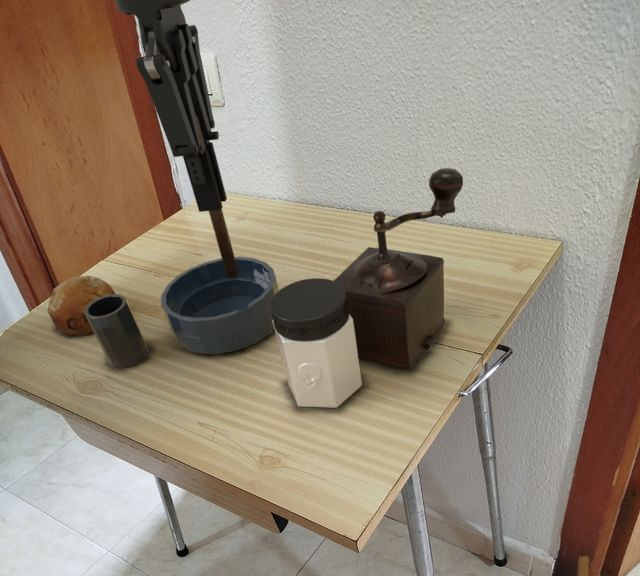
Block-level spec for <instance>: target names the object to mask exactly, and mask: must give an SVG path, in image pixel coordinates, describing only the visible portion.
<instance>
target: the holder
mask: <svg viewBox="0 0 640 576" xmlns="http://www.w3.org/2000/svg"><path fill="white" fill-rule="evenodd" d="M84 312H85V317H86V319H87V321H88V322H89V324H90V326H91V328H92V330H93V332H92V333H93V334H94V336H95V338H96V340H97V342H98V344H99V346H100V348H101V350H102V352H103V354H104V355H105V358H106V360H107V361H108V363H109V364H110V366H111V367H113V368H116V369H127V368H131V367H133V366H135V365H138V364H140V363H141V362H142V361H143V360H144V359H146V357H147V356H148V354H149V348H148V345H147V342H146V339H145V338H144V335H143V333H142V331H141V329H140V326H139V324H138V322H137V320H136V317H135V315H134V313H133V311H132V308H131V306H130V304H129V302H128V299H127V298H126V297H125V296H124V295H122V294H117V293H115V294H112V295H107V296H103V297H100V298H98V299H96V300H94V301H93V302H91V303H90V304H88V306H87V307H86V309H85V310H84Z"/></svg>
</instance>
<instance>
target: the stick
mask: <svg viewBox="0 0 640 576" xmlns="http://www.w3.org/2000/svg"><path fill="white" fill-rule="evenodd" d="M195 116H196V115H195ZM196 120H197V124H198V128H199V132H200V136H201V141H202V145H203V148H204V150H206V147H205V143H204V139H203V136H202V132H201V128H200V124H199V121H198V117H197V116H196ZM208 215H209V218H210V222H211V224H212V228H213V232H214V235H215V239H216V243H217V246H218V250H219V253H220V257H221V258H222V261H223V264H224V268H225V271H226V275H227V276H228V277H229V278H230V279H235V278H237V276H238V274H239V272H238V268H237V264H236V260H235V257H236V256H235V253H234V249H233V246H232V241H231V238H230V235H229V230H228V226H227V223H226V219H225V215H224V212H223V208H222V209H221V210H213V211H208Z"/></svg>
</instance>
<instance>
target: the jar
mask: <svg viewBox="0 0 640 576" xmlns="http://www.w3.org/2000/svg"><path fill="white" fill-rule="evenodd" d="M270 310H271V314H272V318H273V325H274V333H275V337H276V341H277V346H278V349H279V353H280V357H281V361H282V365H283V369H284V373H285V378H286V380H287V384H288V386H289V390H290V391H291V393H292V395H293V398H294V400H295V402H296V404H297V406H298V407H301V408H303V407H304V408H328V409H329V408H331V409H333V408H334V409H337V408H338V407H340V406H341V405H342V404H343V403H344V402H345V401H346V400H348V399H349V398H350V397H351V396H352V395H353V394H354V393H356V392H357V390H359V389H360V388H361V387H362V386H363V382H362V375H361V367H360V359H358V352H357V344H356V337H355V330H354V322H353V319H352V317H351V316H350V314H349V308H348V301H347V294H346V291H345V289H344V287H343V286H342V285H340V284H339V283H337V282H335V281H334V279H333V280H332V279H329V278H320V277H319V278H317V277H316V278H306V279H301V280H297V281H294V282H292V283H289V284H287V285H285V286H284V287H282V288H280V289H279V291H278V292H277V293H276V294H275V295H274V297H273V298H272V300H271V303H270Z"/></svg>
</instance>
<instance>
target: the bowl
mask: <svg viewBox="0 0 640 576" xmlns="http://www.w3.org/2000/svg"><path fill="white" fill-rule="evenodd" d="M234 257H235V260H236V264H237V268H238V272H239V274H238V276H237V278H235V279H230V278H229V277H228V276H227V275H226V271H225V268H224V264H223V261H222V257H221V258H217V259H213V260H210V261H205V262H202V263H200V264H198V265H195V266H193V267H190V268H188V269H186V270H185V271H182V272H181V273H180V274H179V275H176V276H175V277H174V278H173V279H172V280H171V281H170V282H169V283H168V284H167V285H166V286H165V288H164V290H163V292H162V294H161V295H160V306H161V309H162V312H163V314H164V316H165V319H166V321H167V323H168V326H169V329H170V331H171V334H172V337H173V339H174V340H175V341H176V343H177V344H178V345H179V346H180V347H181V348H184V349H186V350H188V351H189V352H191V353H198V354H203V355H214V354H227V353H232V352H236V351H239V350H242V349H245V348H247V347H251V346H252V345H253V344H255V343H258V342H260V341H261V340H263V339H264V338H265V337H267V336H268V335H269V334H271V333H272V332H273V331H275V329H274V325H273V318H272V314H271V310H270V303H271V300H272V298H273V297H274V295H275V294H276V293H277V292H278V291H279V290H280V289H279V285H278V281H277V276H276V273H275V270H274V267H272V266H270V264H268V263H267V262H266V261H263V260H261V259H258V258H254V257H246V256H234Z"/></svg>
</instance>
